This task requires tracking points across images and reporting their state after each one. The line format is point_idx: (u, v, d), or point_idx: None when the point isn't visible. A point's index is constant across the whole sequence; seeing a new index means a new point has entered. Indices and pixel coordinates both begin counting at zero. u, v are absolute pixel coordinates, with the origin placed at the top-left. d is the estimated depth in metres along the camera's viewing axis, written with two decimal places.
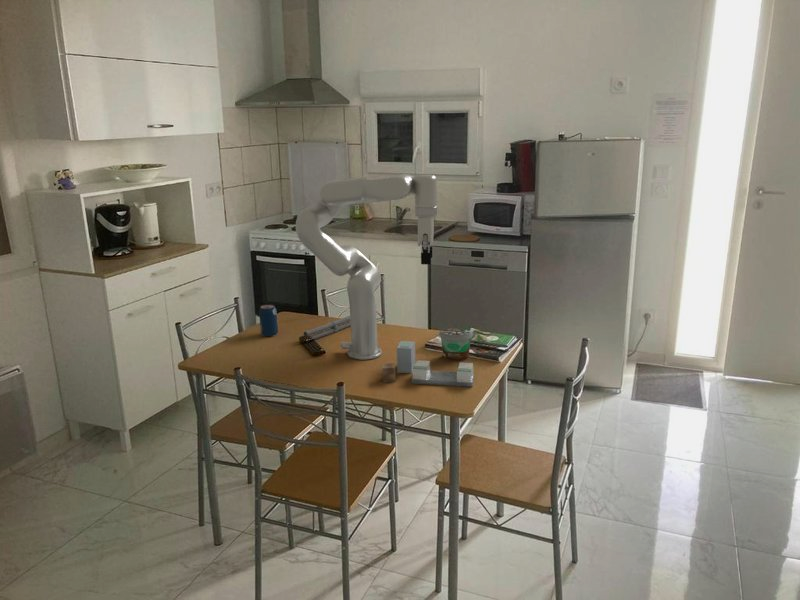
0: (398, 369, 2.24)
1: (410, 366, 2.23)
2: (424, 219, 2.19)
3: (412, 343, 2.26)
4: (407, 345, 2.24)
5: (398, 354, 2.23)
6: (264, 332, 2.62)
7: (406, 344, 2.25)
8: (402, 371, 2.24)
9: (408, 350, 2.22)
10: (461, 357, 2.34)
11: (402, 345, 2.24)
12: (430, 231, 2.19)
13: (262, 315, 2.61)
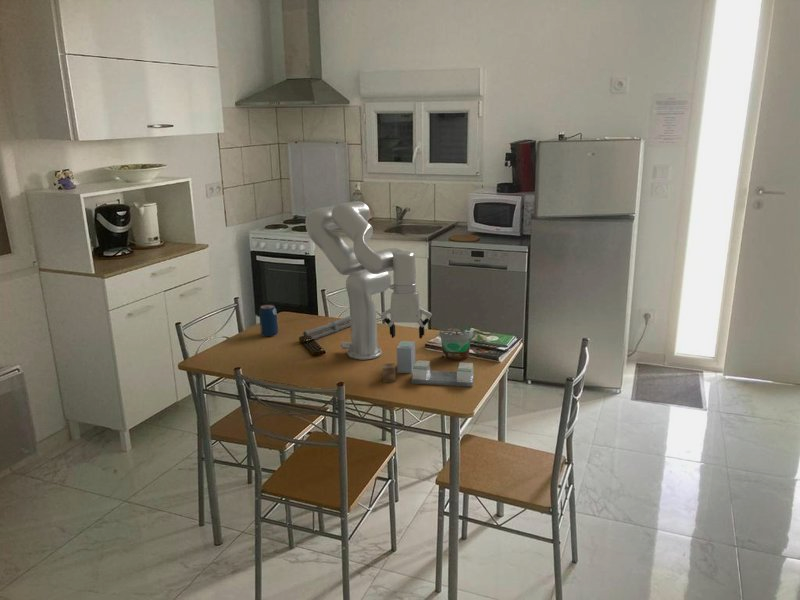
0: (398, 369, 2.24)
1: (410, 366, 2.23)
2: (418, 294, 2.18)
3: (412, 343, 2.26)
4: (407, 345, 2.24)
5: (398, 354, 2.23)
6: (264, 332, 2.62)
7: (406, 344, 2.25)
8: (402, 371, 2.24)
9: (408, 350, 2.22)
10: (461, 357, 2.34)
11: (402, 345, 2.24)
12: None
13: (262, 315, 2.61)
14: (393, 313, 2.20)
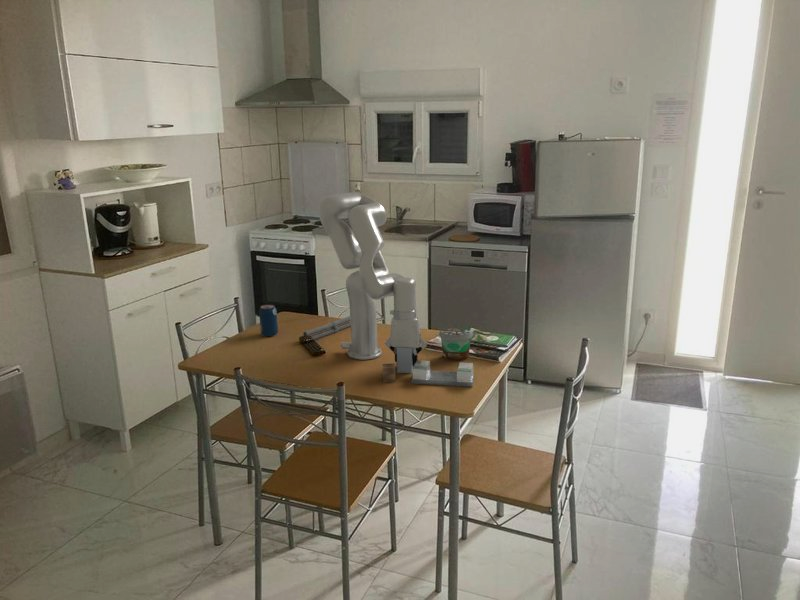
0: (398, 369, 2.24)
1: (410, 366, 2.23)
2: (418, 320, 2.21)
3: None
4: None
5: (398, 354, 2.23)
6: (264, 332, 2.62)
7: None
8: (402, 371, 2.24)
9: (408, 350, 2.22)
10: (461, 357, 2.34)
11: None
12: None
13: (262, 315, 2.61)
14: (393, 338, 2.22)
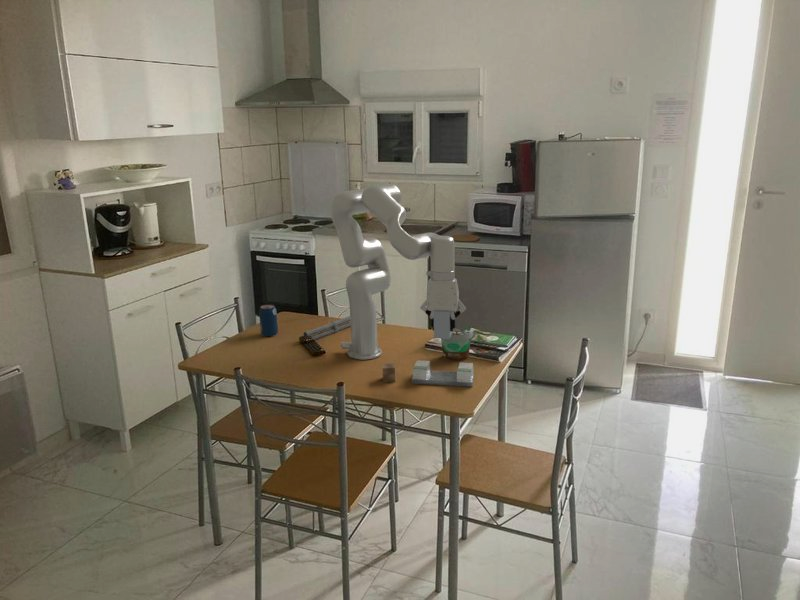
0: (435, 334, 2.09)
1: (448, 331, 2.08)
2: (456, 281, 2.06)
3: None
4: None
5: (435, 318, 2.08)
6: (264, 332, 2.62)
7: None
8: (439, 336, 2.09)
9: (446, 314, 2.07)
10: (461, 357, 2.34)
11: None
12: None
13: (262, 315, 2.61)
14: (429, 301, 2.08)
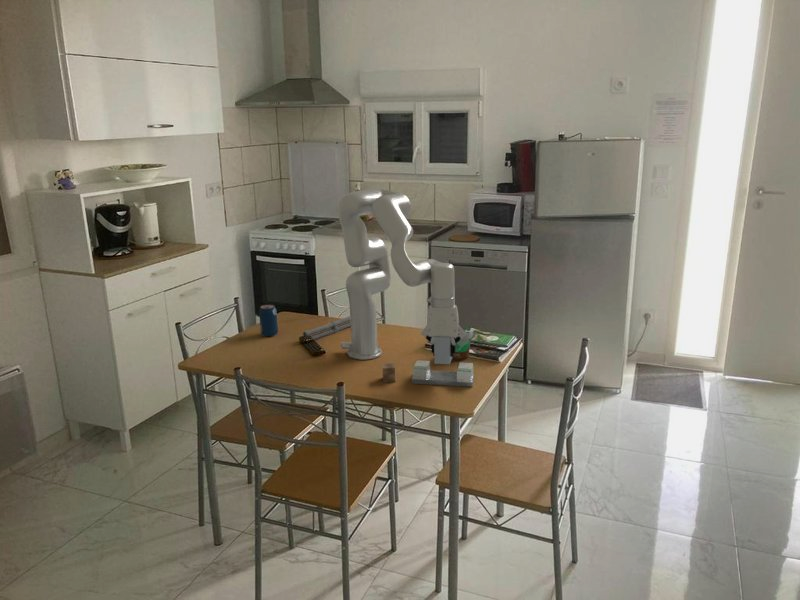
0: (435, 360, 2.12)
1: (448, 357, 2.11)
2: (456, 308, 2.09)
3: None
4: None
5: (435, 344, 2.10)
6: (264, 332, 2.62)
7: None
8: (440, 362, 2.12)
9: (446, 340, 2.09)
10: (461, 357, 2.34)
11: None
12: None
13: (262, 315, 2.61)
14: (430, 327, 2.10)
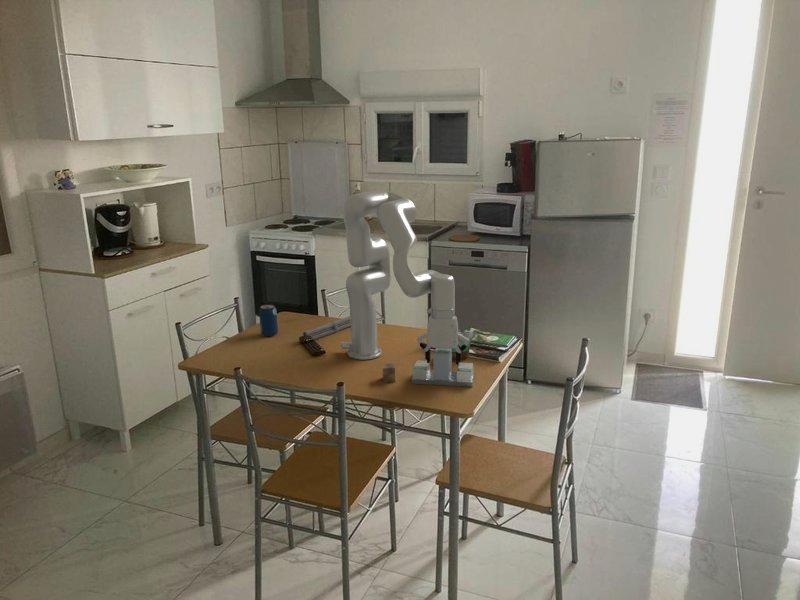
0: (434, 376, 2.14)
1: (447, 373, 2.12)
2: (456, 319, 2.10)
3: (449, 349, 2.15)
4: (444, 351, 2.13)
5: (435, 360, 2.12)
6: (264, 332, 2.62)
7: (443, 350, 2.14)
8: (439, 378, 2.14)
9: (445, 356, 2.11)
10: (461, 357, 2.34)
11: (439, 351, 2.13)
12: None
13: (262, 315, 2.61)
14: (430, 338, 2.11)
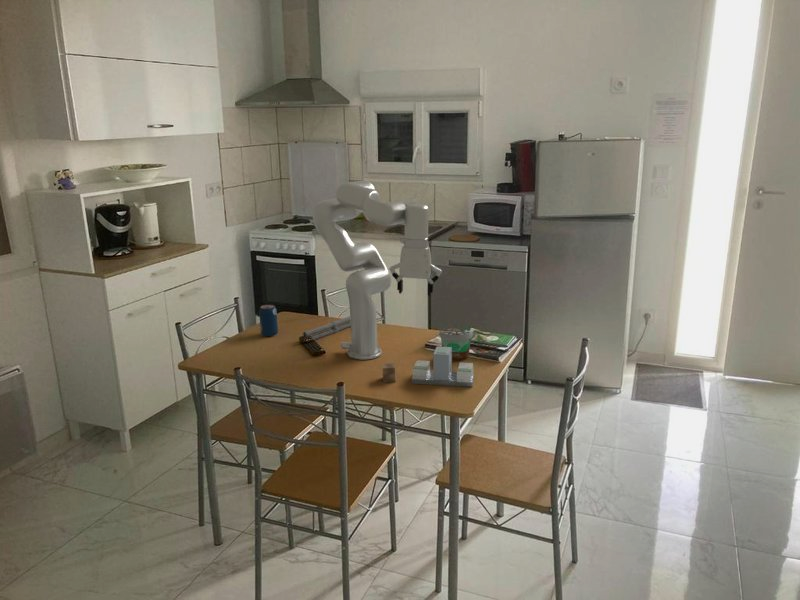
0: (434, 376, 2.14)
1: (447, 373, 2.12)
2: (429, 249, 2.10)
3: (449, 349, 2.15)
4: (444, 351, 2.13)
5: (435, 360, 2.12)
6: (264, 332, 2.62)
7: (443, 350, 2.14)
8: (439, 378, 2.14)
9: (445, 356, 2.11)
10: (461, 357, 2.34)
11: (439, 351, 2.13)
12: None
13: (262, 315, 2.61)
14: (402, 268, 2.11)
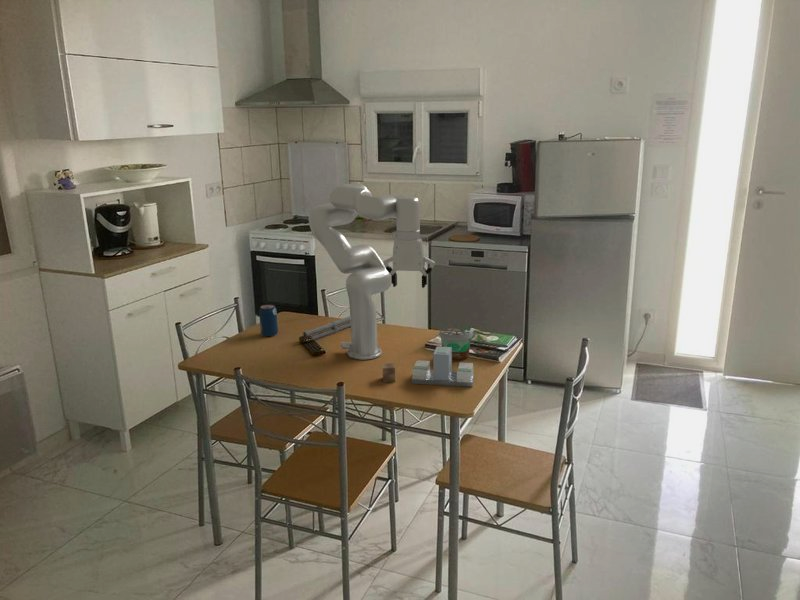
0: (434, 376, 2.14)
1: (447, 373, 2.12)
2: None
3: (449, 349, 2.15)
4: (444, 351, 2.13)
5: (435, 360, 2.12)
6: (264, 332, 2.62)
7: (443, 350, 2.14)
8: (439, 378, 2.14)
9: (445, 356, 2.11)
10: (461, 357, 2.34)
11: (439, 351, 2.13)
12: None
13: (262, 315, 2.61)
14: (395, 261, 2.12)
